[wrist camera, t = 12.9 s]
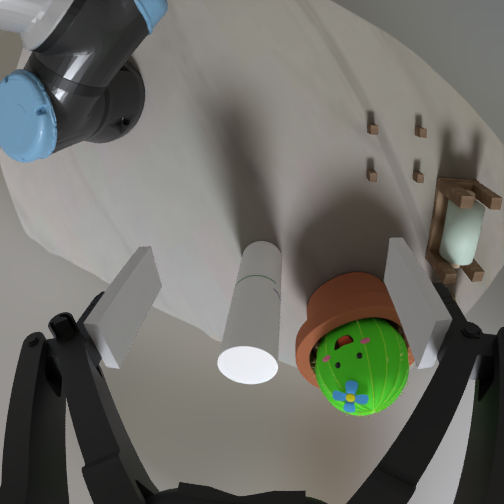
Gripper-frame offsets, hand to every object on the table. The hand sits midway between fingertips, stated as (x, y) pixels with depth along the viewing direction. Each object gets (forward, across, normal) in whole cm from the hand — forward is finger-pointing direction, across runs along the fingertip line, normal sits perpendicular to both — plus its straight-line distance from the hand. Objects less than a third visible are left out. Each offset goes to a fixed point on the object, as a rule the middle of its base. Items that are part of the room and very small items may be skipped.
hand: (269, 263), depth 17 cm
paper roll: (+34, +32, -13) cm, 48 cm away
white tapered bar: (+35, -4, -20) cm, 40 cm away
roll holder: (+34, +32, -13) cm, 49 cm away
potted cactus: (+35, +13, -32) cm, 49 cm away
